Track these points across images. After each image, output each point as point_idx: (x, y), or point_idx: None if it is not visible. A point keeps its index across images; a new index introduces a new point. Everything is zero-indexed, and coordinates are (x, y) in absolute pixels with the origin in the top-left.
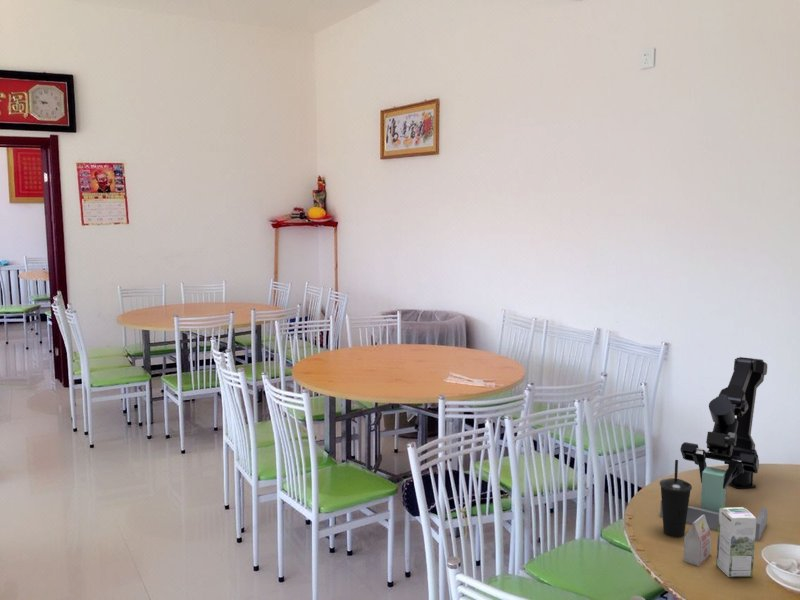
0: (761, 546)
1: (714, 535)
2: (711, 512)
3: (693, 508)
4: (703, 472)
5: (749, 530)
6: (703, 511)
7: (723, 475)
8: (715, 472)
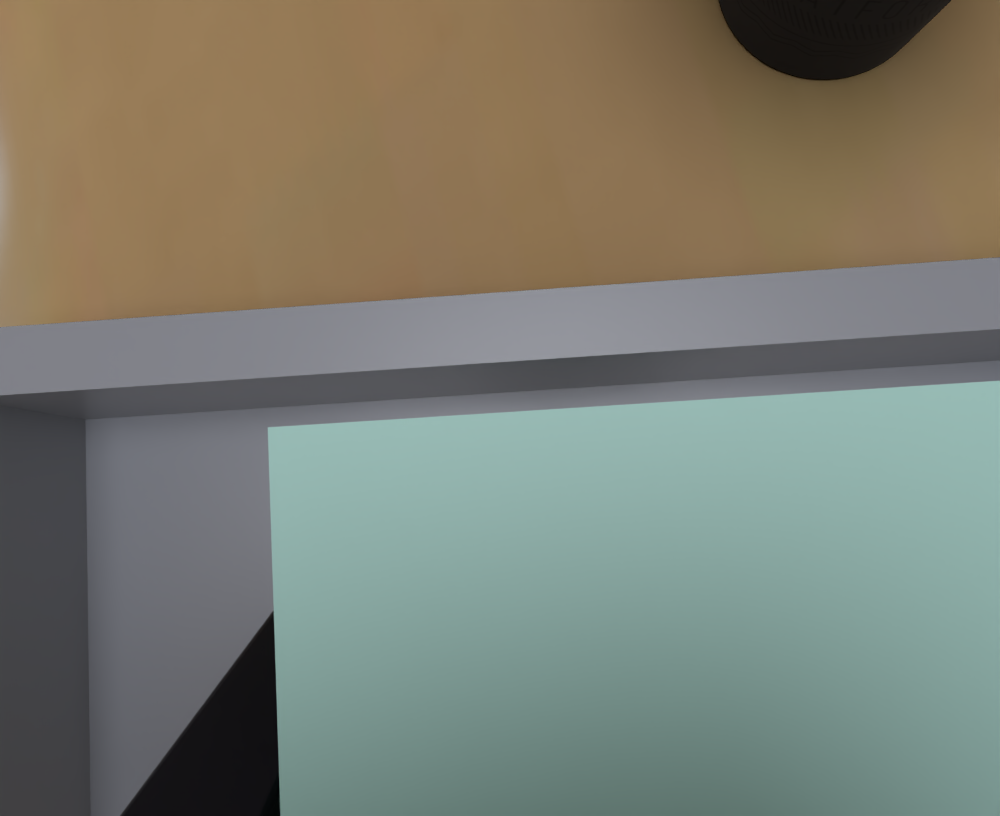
0: (12, 315)
1: (470, 263)
2: (531, 301)
3: (793, 281)
4: (983, 384)
5: None
6: (642, 284)
7: (273, 545)
8: (604, 672)
